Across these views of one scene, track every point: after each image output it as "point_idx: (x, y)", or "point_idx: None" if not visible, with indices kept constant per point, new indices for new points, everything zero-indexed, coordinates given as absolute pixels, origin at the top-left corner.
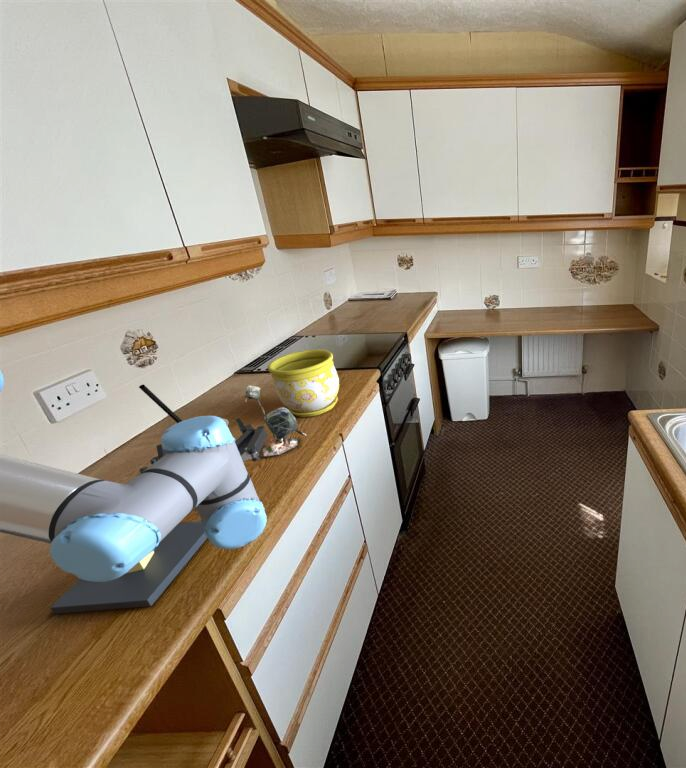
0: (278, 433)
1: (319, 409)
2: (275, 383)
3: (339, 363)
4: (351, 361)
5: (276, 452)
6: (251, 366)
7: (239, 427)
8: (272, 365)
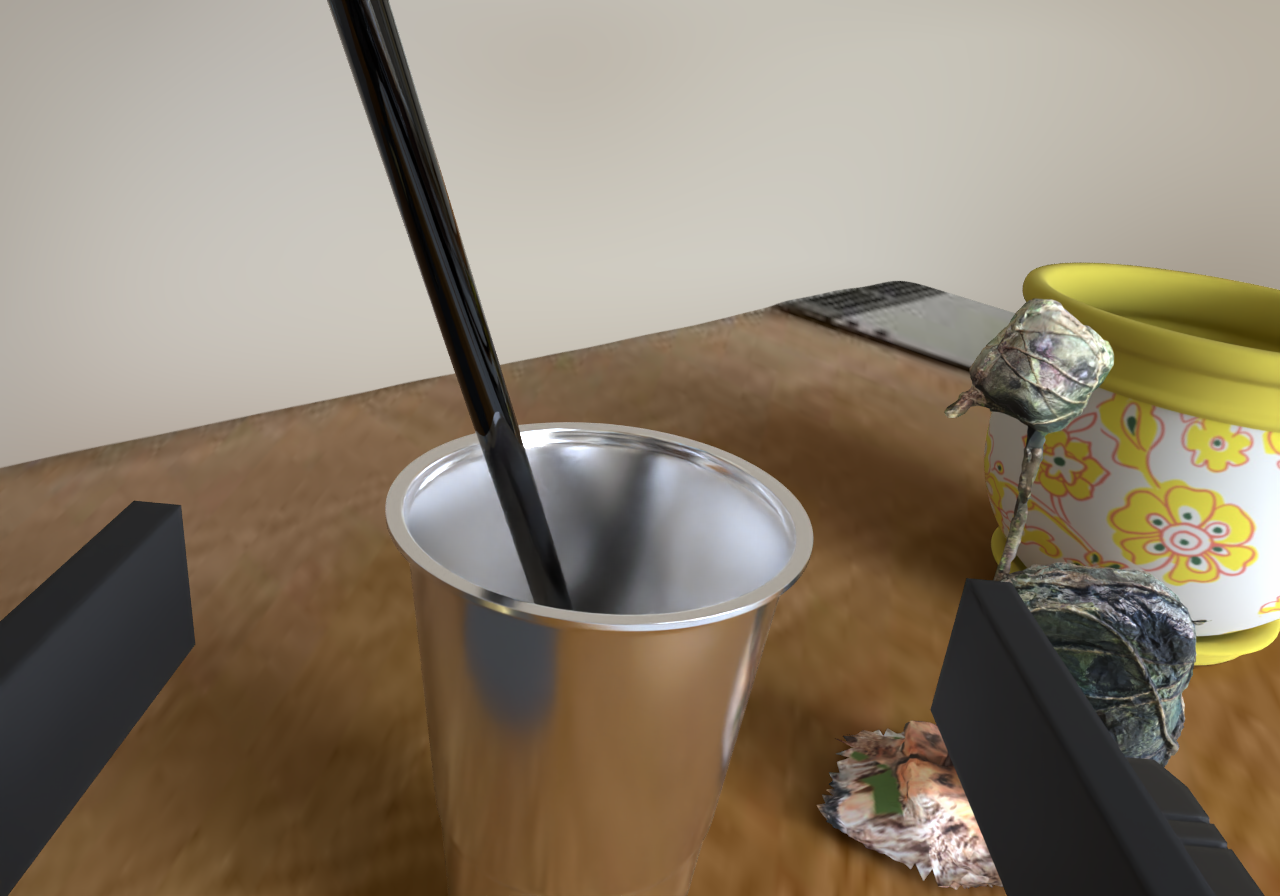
0: None
1: None
2: None
3: None
4: None
5: (925, 852)
6: (828, 305)
7: (976, 709)
8: (1048, 282)
